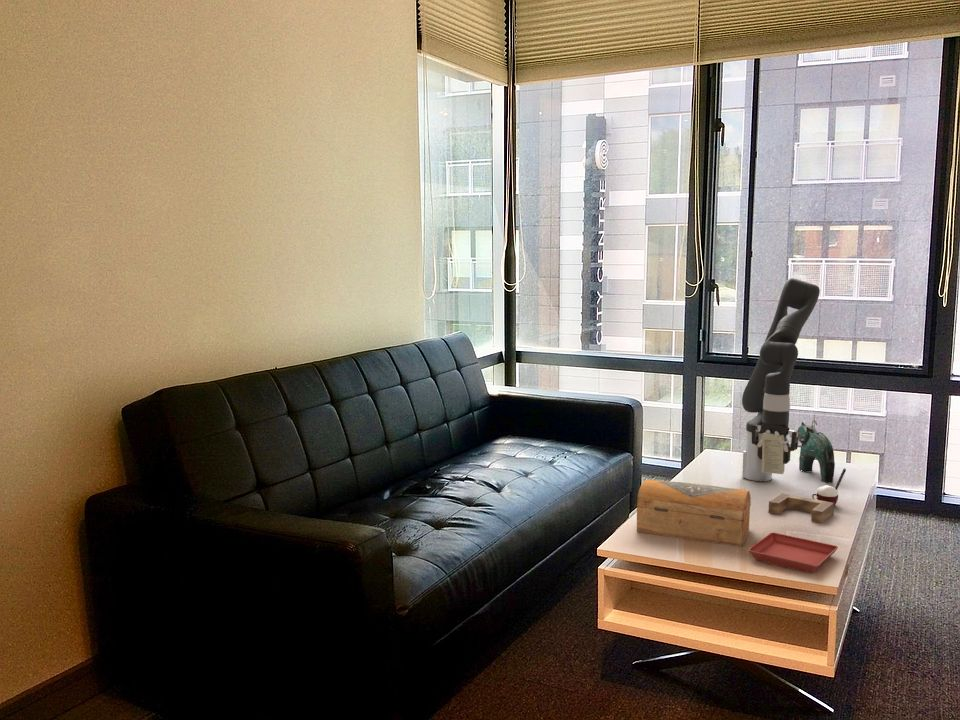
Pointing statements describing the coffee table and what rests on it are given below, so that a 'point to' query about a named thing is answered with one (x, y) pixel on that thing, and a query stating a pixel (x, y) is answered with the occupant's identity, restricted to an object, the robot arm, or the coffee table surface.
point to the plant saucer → (792, 552)
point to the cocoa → (829, 491)
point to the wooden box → (694, 511)
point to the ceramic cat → (816, 452)
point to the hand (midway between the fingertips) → (773, 460)
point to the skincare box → (772, 454)
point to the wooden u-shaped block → (802, 506)
